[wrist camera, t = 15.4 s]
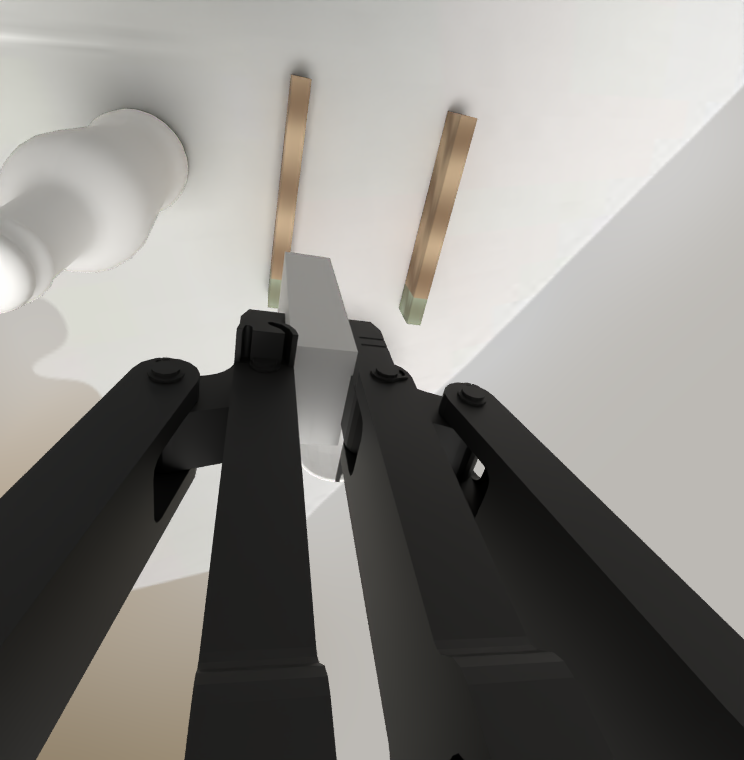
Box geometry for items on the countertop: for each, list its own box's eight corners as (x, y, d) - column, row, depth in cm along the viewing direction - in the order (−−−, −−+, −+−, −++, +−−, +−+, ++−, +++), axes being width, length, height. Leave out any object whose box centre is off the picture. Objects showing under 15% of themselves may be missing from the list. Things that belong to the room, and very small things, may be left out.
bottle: (189, 212, 47) (97, 380, 22) (95, 197, 45) (-122, 362, 20) (192, 118, 43) (83, 193, 18) (88, 96, 41) (-192, 147, 16)
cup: (279, 325, 55) (281, 403, 42) (374, 318, 56) (403, 390, 44) (288, 404, 61) (293, 493, 48) (374, 395, 62) (400, 479, 50)
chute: (291, 74, 43) (292, 75, 39) (462, 114, 47) (477, 118, 43) (268, 291, 53) (267, 307, 49) (411, 310, 57) (420, 325, 53)
